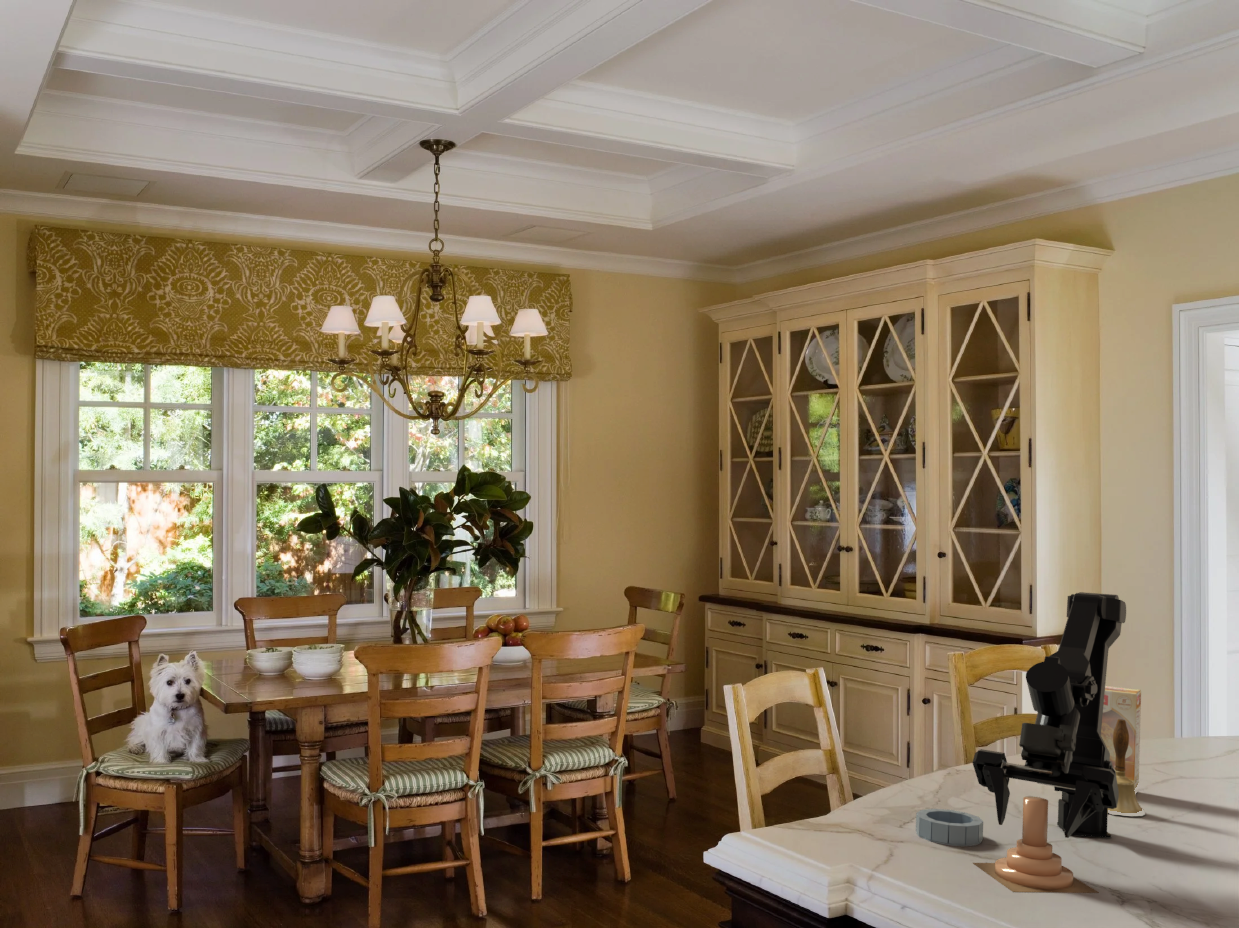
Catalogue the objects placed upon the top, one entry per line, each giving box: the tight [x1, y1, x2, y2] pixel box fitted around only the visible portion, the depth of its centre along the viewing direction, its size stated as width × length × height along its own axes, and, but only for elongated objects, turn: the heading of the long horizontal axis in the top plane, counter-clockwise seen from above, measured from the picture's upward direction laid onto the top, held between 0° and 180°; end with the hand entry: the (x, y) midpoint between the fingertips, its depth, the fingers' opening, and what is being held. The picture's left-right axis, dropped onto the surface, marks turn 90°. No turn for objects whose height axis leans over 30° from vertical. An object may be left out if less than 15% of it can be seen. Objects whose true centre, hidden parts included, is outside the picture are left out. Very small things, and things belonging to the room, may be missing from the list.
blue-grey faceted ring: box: [915, 808, 984, 847], centre depth 167 cm, size 10×10×4 cm
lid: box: [994, 796, 1074, 889], centre depth 149 cm, size 10×10×10 cm
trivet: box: [972, 862, 1100, 894], centre depth 149 cm, size 12×12×1 cm
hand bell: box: [1108, 719, 1143, 813], centre depth 191 cm, size 8×8×16 cm
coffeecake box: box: [1101, 685, 1142, 790], centre depth 208 cm, size 15×7×20 cm, turn 58°
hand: (1032, 829), depth 148 cm, fingers open, 8 cm apart
